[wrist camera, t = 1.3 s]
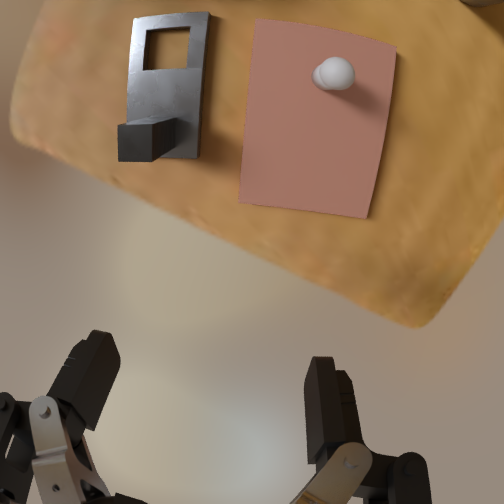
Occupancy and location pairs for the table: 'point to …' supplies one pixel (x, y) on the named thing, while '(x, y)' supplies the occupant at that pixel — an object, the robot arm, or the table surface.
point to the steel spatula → (164, 93)
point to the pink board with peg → (315, 118)
